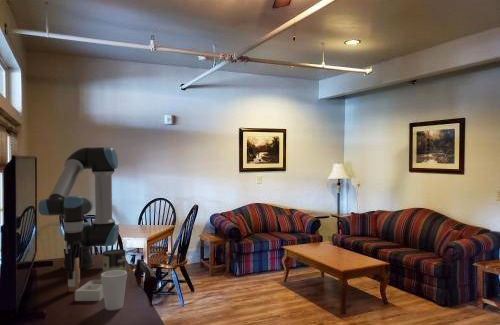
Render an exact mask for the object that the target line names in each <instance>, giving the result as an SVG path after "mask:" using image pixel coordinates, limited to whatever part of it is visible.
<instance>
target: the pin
mask: <svg viewBox="0 0 500 325" xmlns="http://www.w3.org/2000/svg"><path fill="white" fill-rule="evenodd" d="M74 271H75V287H68V292H69V293H75V291H76V290H77V289H79V288H80V283H79V258H75V263H74Z"/></svg>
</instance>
